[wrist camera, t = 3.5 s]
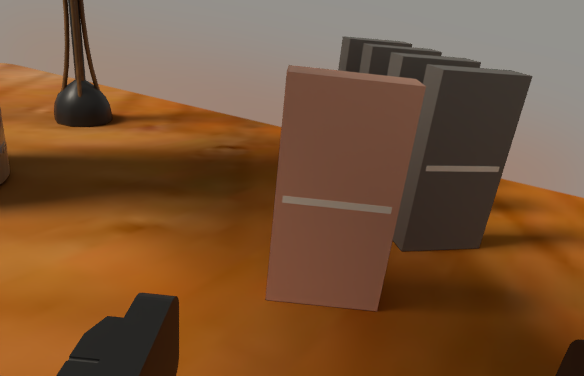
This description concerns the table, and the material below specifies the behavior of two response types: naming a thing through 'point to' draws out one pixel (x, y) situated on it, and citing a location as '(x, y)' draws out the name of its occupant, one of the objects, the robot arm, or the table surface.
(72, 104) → the wooden tabletop sculpture
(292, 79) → the terracotta domino
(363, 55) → the charcoal domino
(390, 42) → the charcoal domino
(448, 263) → the table surface
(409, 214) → the charcoal domino
